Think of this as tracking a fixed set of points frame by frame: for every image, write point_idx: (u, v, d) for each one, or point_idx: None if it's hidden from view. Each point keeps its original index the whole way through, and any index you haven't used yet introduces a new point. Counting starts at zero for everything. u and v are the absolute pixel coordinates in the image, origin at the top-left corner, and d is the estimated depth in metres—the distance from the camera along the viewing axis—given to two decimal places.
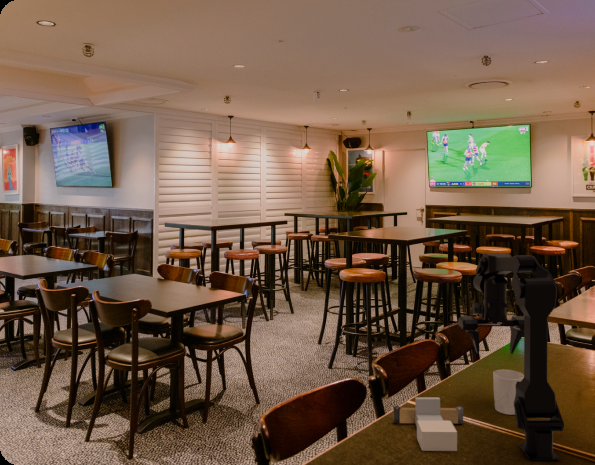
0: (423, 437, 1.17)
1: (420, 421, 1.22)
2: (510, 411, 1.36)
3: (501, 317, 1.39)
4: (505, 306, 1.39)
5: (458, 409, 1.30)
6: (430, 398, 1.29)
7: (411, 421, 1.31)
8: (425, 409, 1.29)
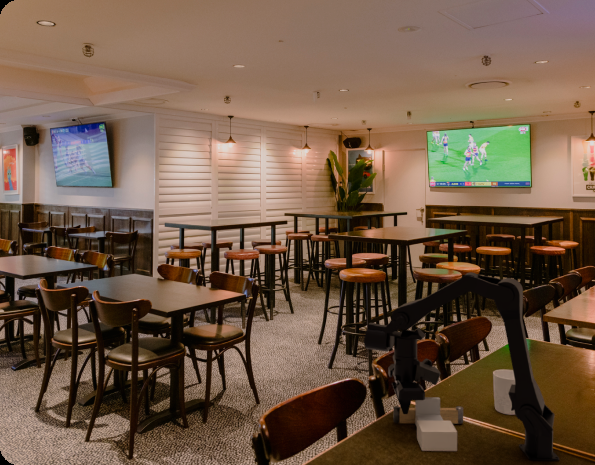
0: (423, 437, 1.17)
1: (420, 421, 1.22)
2: (510, 411, 1.36)
3: (395, 373, 1.29)
4: (395, 362, 1.28)
5: (458, 409, 1.30)
6: (430, 398, 1.29)
7: (411, 421, 1.31)
8: (425, 409, 1.29)
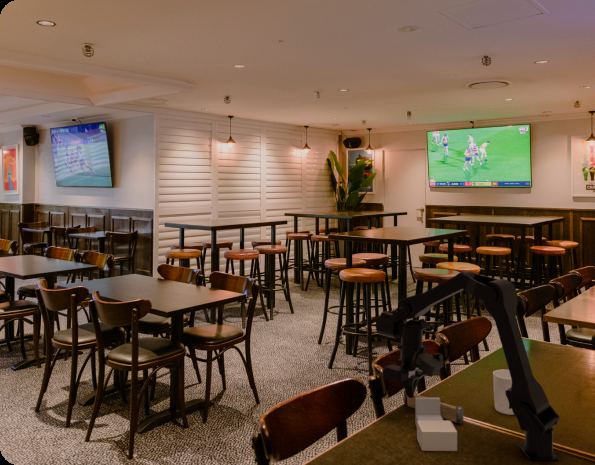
0: (423, 437, 1.17)
1: (420, 421, 1.22)
2: (510, 411, 1.36)
3: None
4: None
5: (456, 408, 1.31)
6: (430, 398, 1.29)
7: None
8: (425, 409, 1.29)
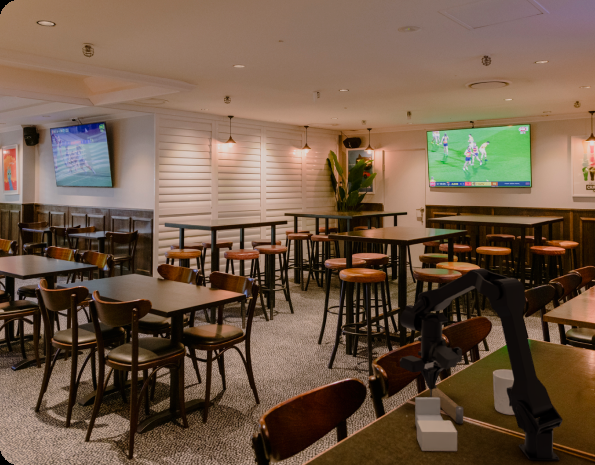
0: (423, 437, 1.17)
1: (420, 421, 1.22)
2: (510, 411, 1.36)
3: None
4: None
5: (456, 407, 1.32)
6: (430, 398, 1.29)
7: None
8: (425, 409, 1.29)
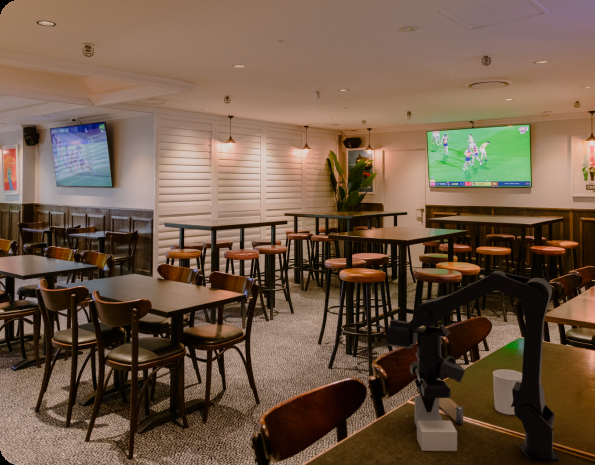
0: (423, 437, 1.17)
1: (420, 421, 1.22)
2: (510, 411, 1.36)
3: (418, 370, 1.27)
4: (419, 360, 1.26)
5: (456, 407, 1.32)
6: None
7: None
8: (424, 407, 1.30)
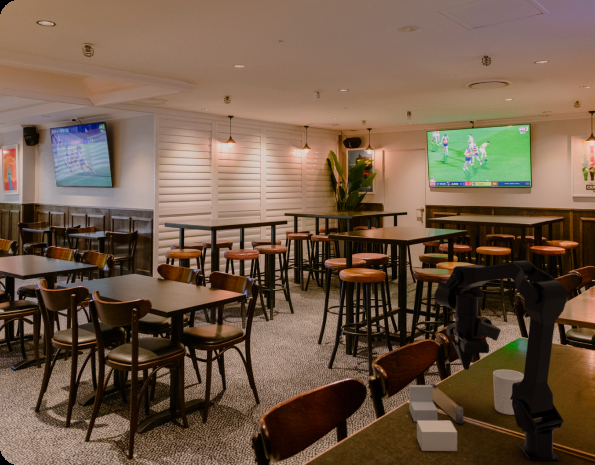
0: (423, 437, 1.17)
1: (420, 421, 1.22)
2: (510, 411, 1.36)
3: (457, 330, 1.36)
4: (457, 320, 1.34)
5: (456, 407, 1.32)
6: (423, 386, 1.38)
7: (436, 401, 1.43)
8: (418, 396, 1.38)
